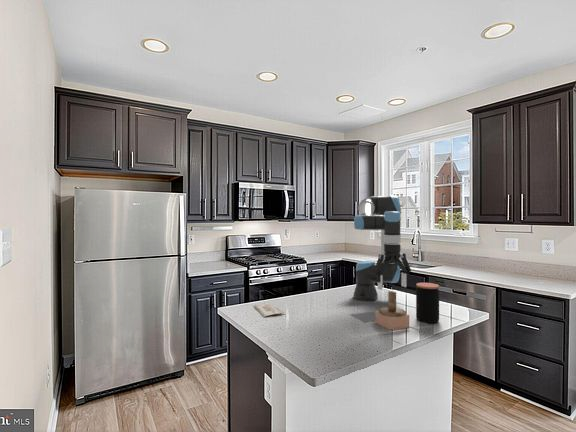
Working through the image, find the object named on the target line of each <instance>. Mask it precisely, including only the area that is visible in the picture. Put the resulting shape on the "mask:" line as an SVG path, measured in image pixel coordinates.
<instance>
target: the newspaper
mask: <svg viewBox="0 0 576 432" xmlns="http://www.w3.org/2000/svg"><path fill="white" fill-rule="evenodd" d="M253 307H254V308H255V309H256V310H257V312H258V313H259V314H260V315H261V316H262V317H263V318H265V317H267V316H273V315H276V314H277V316H279V317H280V316H283V315H285V314H286V312H283V310H281V309H280V308H278V307H276V306H275V305H274V304H272V303H271V302H263V303H258V304H254V305H253Z"/></svg>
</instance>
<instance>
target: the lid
mask: <svg viewBox="0 0 576 432" xmlns="http://www.w3.org/2000/svg"><path fill="white" fill-rule="evenodd" d="M387 295H388V296H387V297H388V299H387V300H388V301H387V303H388V306H385V307H380V308H378V310H379V313H380V314H382V315H386V316H392V317H401V316H405V315H406V314H407V311H406V310H405V309H403V308H399V307H397V291H395V290H389V291H388V294H387Z"/></svg>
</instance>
